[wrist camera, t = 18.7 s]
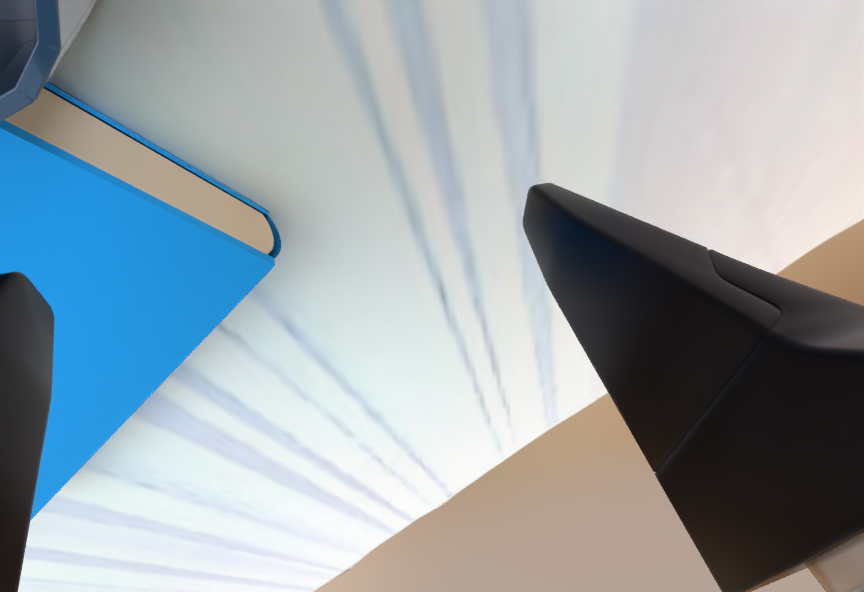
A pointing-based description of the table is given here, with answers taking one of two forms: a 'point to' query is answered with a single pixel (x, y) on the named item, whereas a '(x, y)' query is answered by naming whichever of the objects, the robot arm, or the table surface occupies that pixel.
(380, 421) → the table surface
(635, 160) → the table surface
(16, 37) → the cup
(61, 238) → the book
